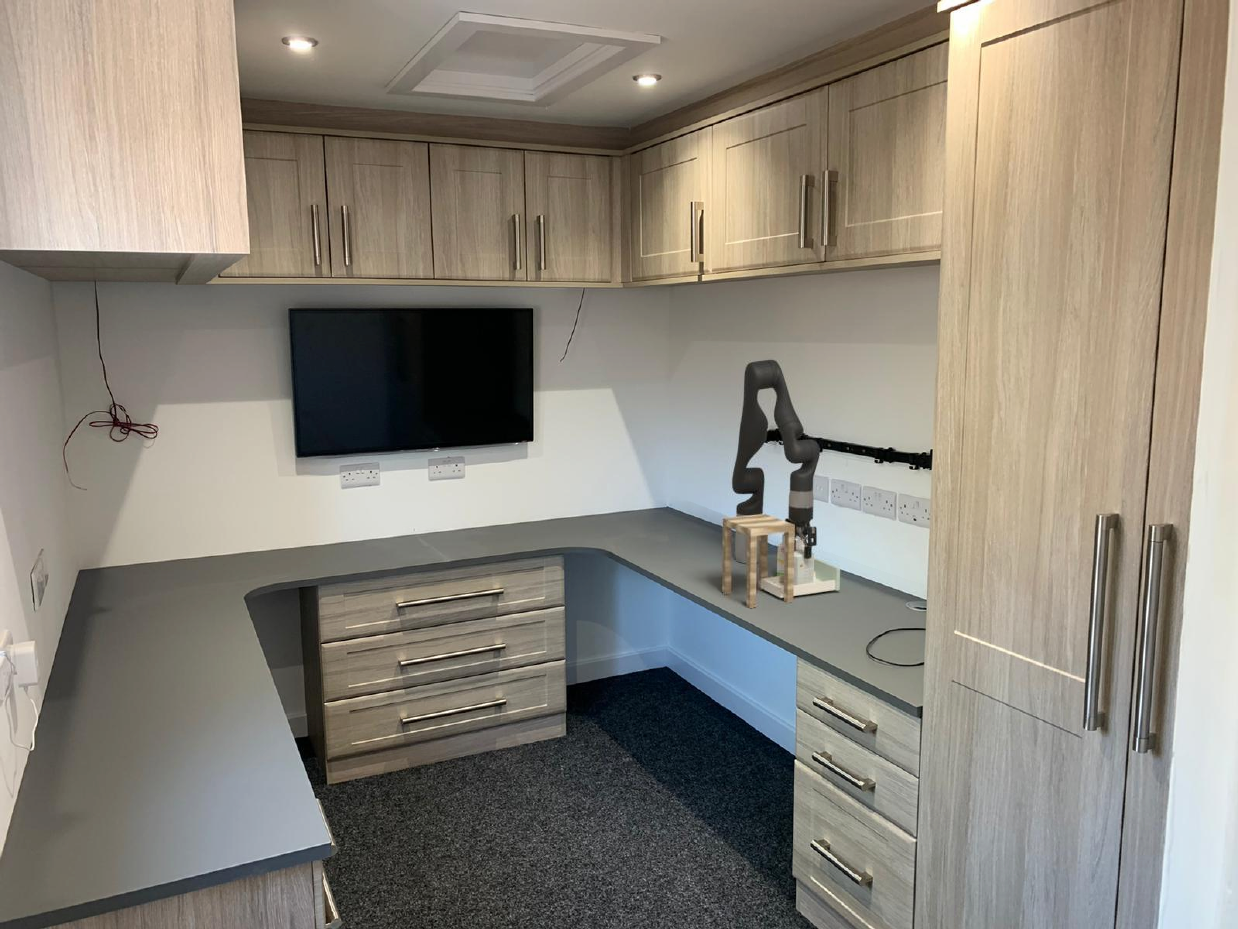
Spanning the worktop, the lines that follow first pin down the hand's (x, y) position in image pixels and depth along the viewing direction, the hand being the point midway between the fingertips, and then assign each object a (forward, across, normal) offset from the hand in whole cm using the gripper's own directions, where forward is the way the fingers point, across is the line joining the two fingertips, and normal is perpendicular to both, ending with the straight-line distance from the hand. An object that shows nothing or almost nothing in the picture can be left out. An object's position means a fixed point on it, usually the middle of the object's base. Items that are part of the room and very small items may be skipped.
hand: (799, 554), depth 290 cm
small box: (+10, 0, 0) cm, 10 cm away
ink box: (+12, -12, +5) cm, 18 cm away
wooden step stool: (+12, 0, -15) cm, 19 cm away
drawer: (+11, 0, 0) cm, 11 cm away
